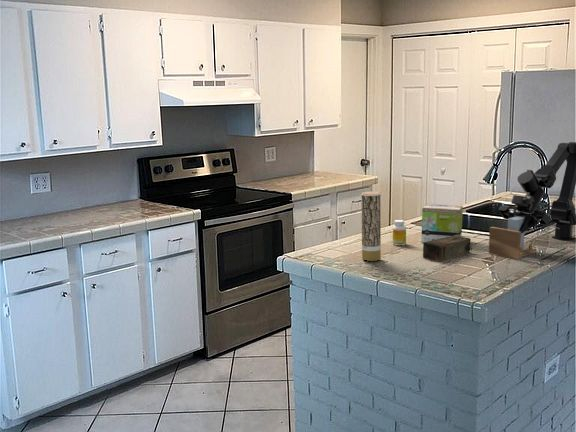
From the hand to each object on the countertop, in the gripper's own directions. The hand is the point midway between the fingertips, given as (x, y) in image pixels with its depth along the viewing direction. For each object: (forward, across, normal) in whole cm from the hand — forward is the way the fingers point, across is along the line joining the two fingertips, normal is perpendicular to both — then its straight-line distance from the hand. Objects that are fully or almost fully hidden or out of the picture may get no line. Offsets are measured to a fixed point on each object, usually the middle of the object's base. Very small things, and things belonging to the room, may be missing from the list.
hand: (513, 233), depth 227 cm
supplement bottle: (+20, -39, -8) cm, 44 cm away
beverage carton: (+20, -15, -8) cm, 26 cm away
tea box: (+8, -30, +3) cm, 31 cm away
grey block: (+4, 0, +6) cm, 7 cm away
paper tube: (+37, -30, -26) cm, 54 cm away
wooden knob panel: (+5, 0, +5) cm, 8 cm away
